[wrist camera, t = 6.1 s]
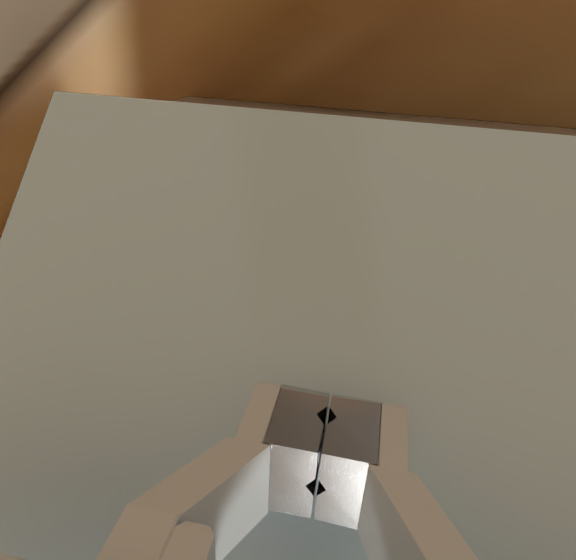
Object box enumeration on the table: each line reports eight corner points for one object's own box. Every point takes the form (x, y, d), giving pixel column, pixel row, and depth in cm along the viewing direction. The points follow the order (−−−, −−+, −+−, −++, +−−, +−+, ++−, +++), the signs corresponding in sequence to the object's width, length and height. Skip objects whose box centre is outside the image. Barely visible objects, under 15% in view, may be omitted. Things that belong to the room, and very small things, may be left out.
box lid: (807, 1037, 8) (870, 1120, 7) (-142, 729, 11) (-188, 758, 10) (733, 173, 12) (766, 152, 11) (72, 112, 15) (54, 90, 14)
